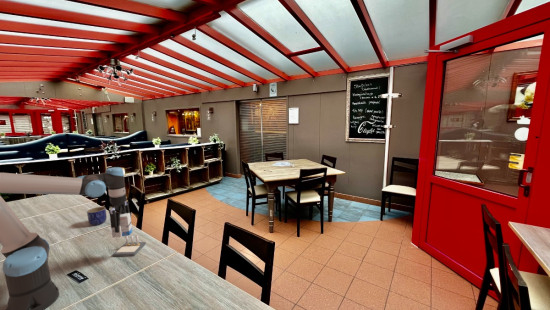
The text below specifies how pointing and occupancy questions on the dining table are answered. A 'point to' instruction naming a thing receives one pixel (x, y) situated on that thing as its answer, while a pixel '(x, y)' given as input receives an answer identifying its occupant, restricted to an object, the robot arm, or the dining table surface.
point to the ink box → (124, 225)
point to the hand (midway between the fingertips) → (122, 233)
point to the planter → (97, 215)
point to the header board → (130, 247)
